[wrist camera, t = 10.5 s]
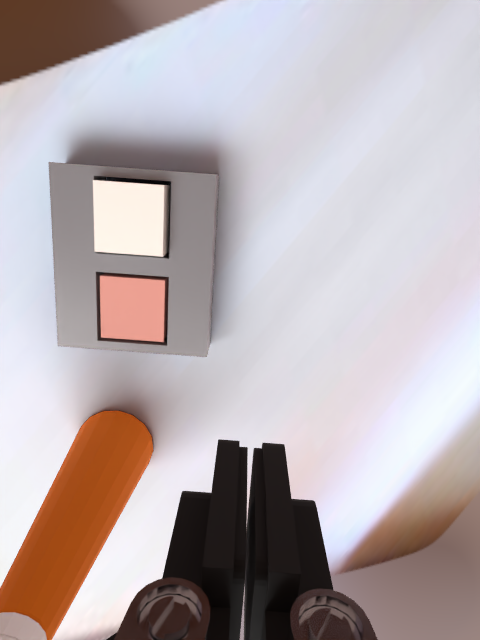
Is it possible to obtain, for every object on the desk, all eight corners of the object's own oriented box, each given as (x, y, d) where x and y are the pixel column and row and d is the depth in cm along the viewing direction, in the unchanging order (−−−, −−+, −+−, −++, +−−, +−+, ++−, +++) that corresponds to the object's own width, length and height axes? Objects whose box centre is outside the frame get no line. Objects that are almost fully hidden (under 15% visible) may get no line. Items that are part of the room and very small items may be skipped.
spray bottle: (30, 425, 42) (-307, 792, 17) (141, 401, 41) (-38, 751, 16) (57, 489, 44) (-208, 904, 18) (163, 467, 43) (36, 874, 17)
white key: (170, 185, 34) (164, 185, 31) (168, 251, 35) (162, 256, 33) (103, 180, 34) (92, 180, 31) (104, 247, 35) (94, 251, 33)
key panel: (219, 175, 35) (216, 174, 32) (209, 344, 39) (206, 356, 36) (65, 164, 35) (48, 162, 32) (72, 334, 39) (57, 345, 36)
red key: (170, 274, 37) (164, 280, 34) (168, 332, 38) (163, 342, 36) (109, 270, 37) (99, 275, 34) (110, 328, 38) (100, 337, 36)
